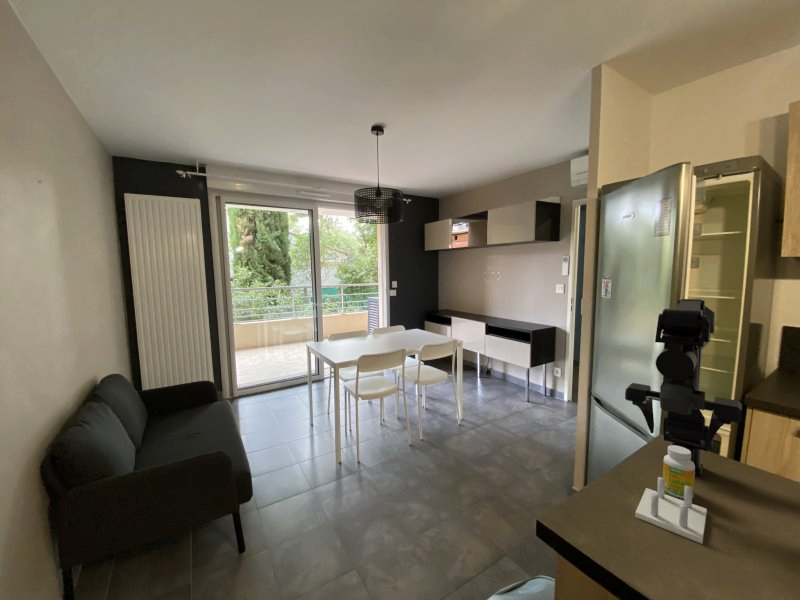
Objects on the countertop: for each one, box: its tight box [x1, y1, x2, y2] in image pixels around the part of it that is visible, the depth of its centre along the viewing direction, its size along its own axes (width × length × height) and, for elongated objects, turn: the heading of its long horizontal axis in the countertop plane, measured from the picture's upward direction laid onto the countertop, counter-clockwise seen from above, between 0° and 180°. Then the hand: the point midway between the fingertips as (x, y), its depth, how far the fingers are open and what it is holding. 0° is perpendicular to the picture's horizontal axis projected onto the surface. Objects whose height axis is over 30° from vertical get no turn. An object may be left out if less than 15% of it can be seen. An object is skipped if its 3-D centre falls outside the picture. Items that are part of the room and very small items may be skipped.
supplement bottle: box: [662, 444, 696, 500], centre depth 75 cm, size 5×5×10 cm
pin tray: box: [634, 476, 708, 545], centre depth 68 cm, size 11×10×5 cm
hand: (678, 439), depth 73 cm, fingers open, 9 cm apart
